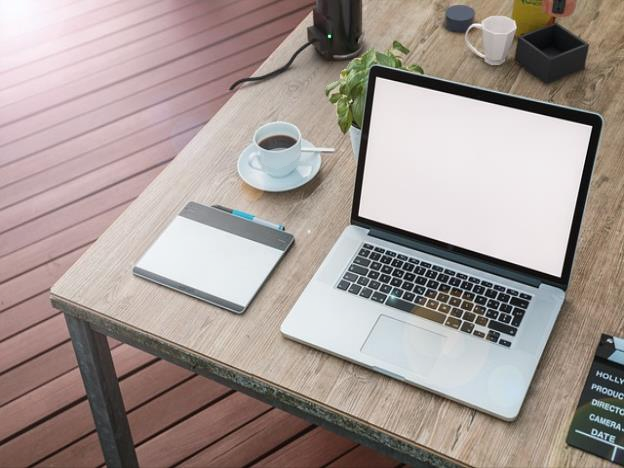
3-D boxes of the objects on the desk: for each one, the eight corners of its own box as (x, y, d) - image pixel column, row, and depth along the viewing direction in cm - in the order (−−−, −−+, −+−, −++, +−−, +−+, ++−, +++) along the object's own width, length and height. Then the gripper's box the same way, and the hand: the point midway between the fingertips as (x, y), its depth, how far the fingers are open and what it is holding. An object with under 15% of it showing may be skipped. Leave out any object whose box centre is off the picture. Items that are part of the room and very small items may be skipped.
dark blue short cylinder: (455, 34, 178) (456, 23, 176) (438, 21, 181) (439, 10, 179) (479, 26, 180) (480, 14, 178) (462, 13, 183) (463, 1, 181)
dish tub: (545, 84, 164) (550, 60, 160) (514, 60, 170) (517, 36, 166) (584, 68, 167) (589, 44, 163) (551, 45, 173) (556, 21, 169)
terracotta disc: (573, 18, 156) (576, 5, 154) (539, 15, 157) (541, 1, 155) (575, 1, 160) (578, -12, 158) (542, -2, 161) (544, -15, 159)
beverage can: (540, 47, 173) (549, -6, 164) (501, 33, 177) (508, -19, 169) (561, 27, 178) (571, -25, 169) (523, 14, 182) (530, -37, 173)
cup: (506, 72, 167) (511, 37, 162) (458, 61, 171) (461, 27, 165) (516, 53, 172) (521, 18, 166) (469, 43, 175) (472, 9, 169)
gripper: (555, -103, 151) (542, -18, 163) (548, -66, 142) (534, 21, 154) (599, -100, 150) (582, -14, 162) (594, -62, 140) (577, 26, 152)
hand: (559, 3), depth 158 cm, fingers closed on terracotta disc, 6 cm apart
